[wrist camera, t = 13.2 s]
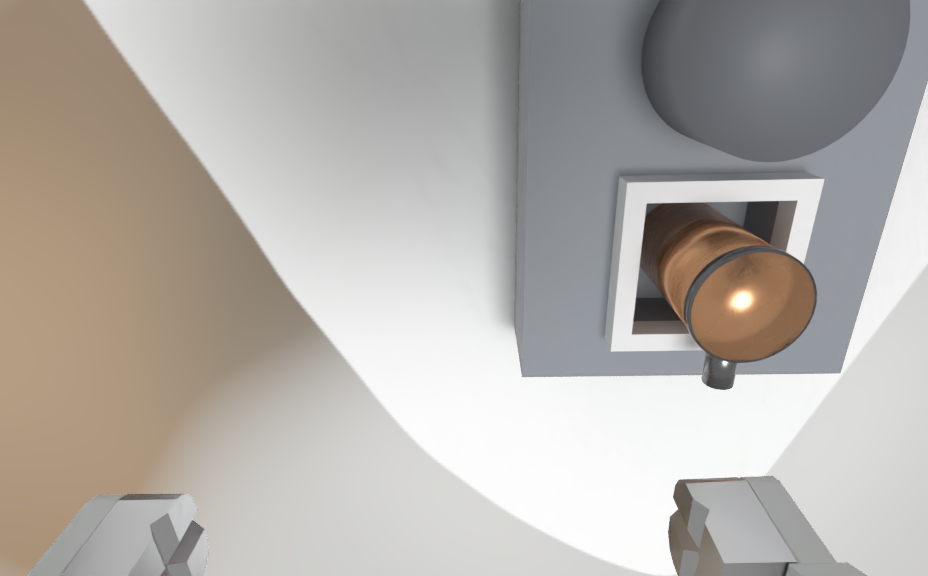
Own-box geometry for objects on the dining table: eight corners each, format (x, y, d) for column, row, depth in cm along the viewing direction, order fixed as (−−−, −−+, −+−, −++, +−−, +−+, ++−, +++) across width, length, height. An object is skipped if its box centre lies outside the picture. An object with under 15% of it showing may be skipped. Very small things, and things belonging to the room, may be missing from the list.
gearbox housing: (520, -53, 28) (548, -109, 18) (877, -63, 28) (1111, -127, 17) (514, 327, 37) (530, 433, 27) (784, 324, 36) (904, 429, 26)
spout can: (636, 197, 30) (697, 251, 22) (731, 195, 30) (830, 248, 22) (624, 316, 33) (675, 404, 25) (711, 314, 33) (792, 402, 24)
